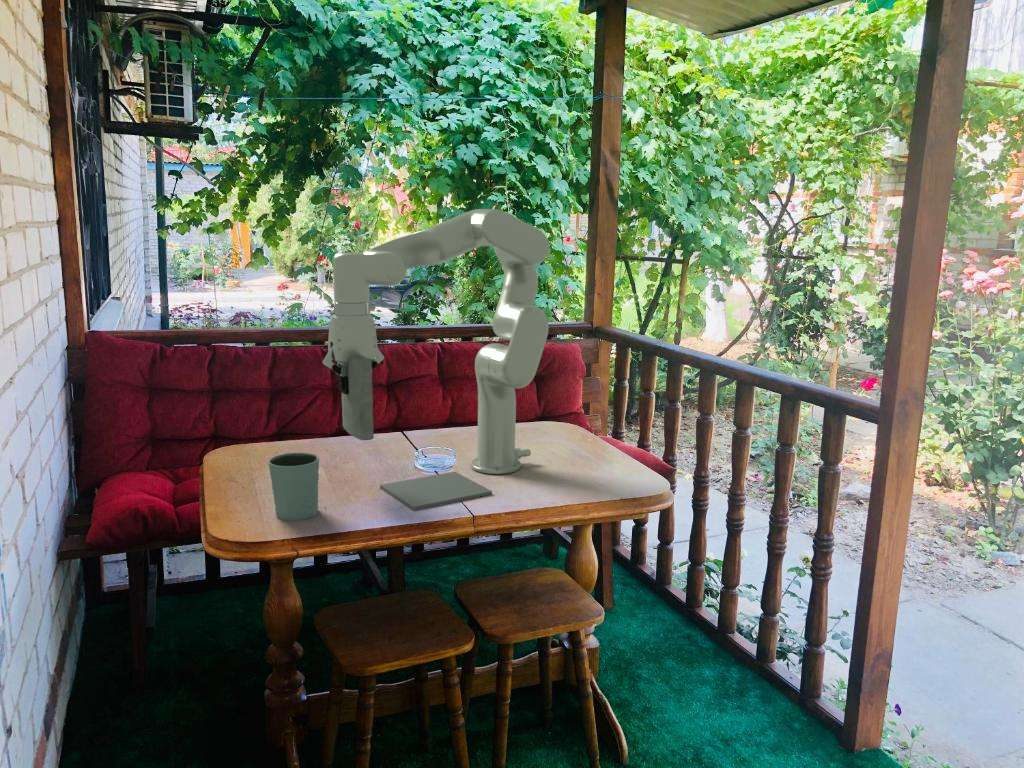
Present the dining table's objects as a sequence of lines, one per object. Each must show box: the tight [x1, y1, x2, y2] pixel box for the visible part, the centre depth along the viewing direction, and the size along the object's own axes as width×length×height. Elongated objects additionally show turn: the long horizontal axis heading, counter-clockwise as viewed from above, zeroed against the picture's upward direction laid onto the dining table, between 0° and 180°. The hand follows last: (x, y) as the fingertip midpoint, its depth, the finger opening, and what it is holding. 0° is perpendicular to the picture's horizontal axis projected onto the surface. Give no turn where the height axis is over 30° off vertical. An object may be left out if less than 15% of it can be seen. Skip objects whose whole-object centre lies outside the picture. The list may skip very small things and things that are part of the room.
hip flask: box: [341, 356, 375, 441], centre depth 175 cm, size 16×4×20 cm, turn 27°
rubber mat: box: [379, 471, 493, 511], centre depth 181 cm, size 20×17×1 cm
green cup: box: [267, 452, 320, 522], centre depth 165 cm, size 10×10×12 cm
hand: (355, 391), depth 175 cm, fingers closed on hip flask, 4 cm apart
